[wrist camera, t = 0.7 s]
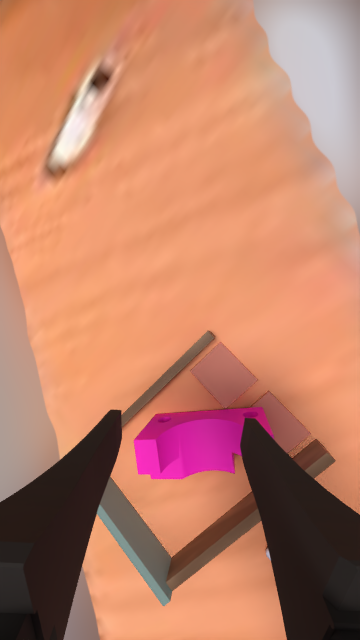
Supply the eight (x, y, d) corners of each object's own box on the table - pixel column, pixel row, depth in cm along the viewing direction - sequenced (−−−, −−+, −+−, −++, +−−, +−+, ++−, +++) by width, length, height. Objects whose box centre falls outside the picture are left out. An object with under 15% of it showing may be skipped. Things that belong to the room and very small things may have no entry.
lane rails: (323, 446, 27) (335, 461, 24) (177, 565, 30) (172, 591, 27) (209, 330, 30) (207, 330, 27) (88, 448, 34) (75, 459, 31)
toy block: (162, 457, 31) (141, 497, 24) (156, 414, 32) (133, 440, 24) (270, 455, 28) (284, 501, 20) (262, 406, 28) (273, 434, 21)
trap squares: (309, 432, 27) (310, 433, 27) (274, 461, 28) (275, 463, 28) (220, 341, 30) (220, 342, 30) (190, 370, 31) (190, 371, 30)
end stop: (177, 565, 30) (170, 601, 26) (171, 570, 30) (163, 606, 26) (88, 448, 34) (70, 464, 30) (83, 453, 34) (65, 469, 30)
